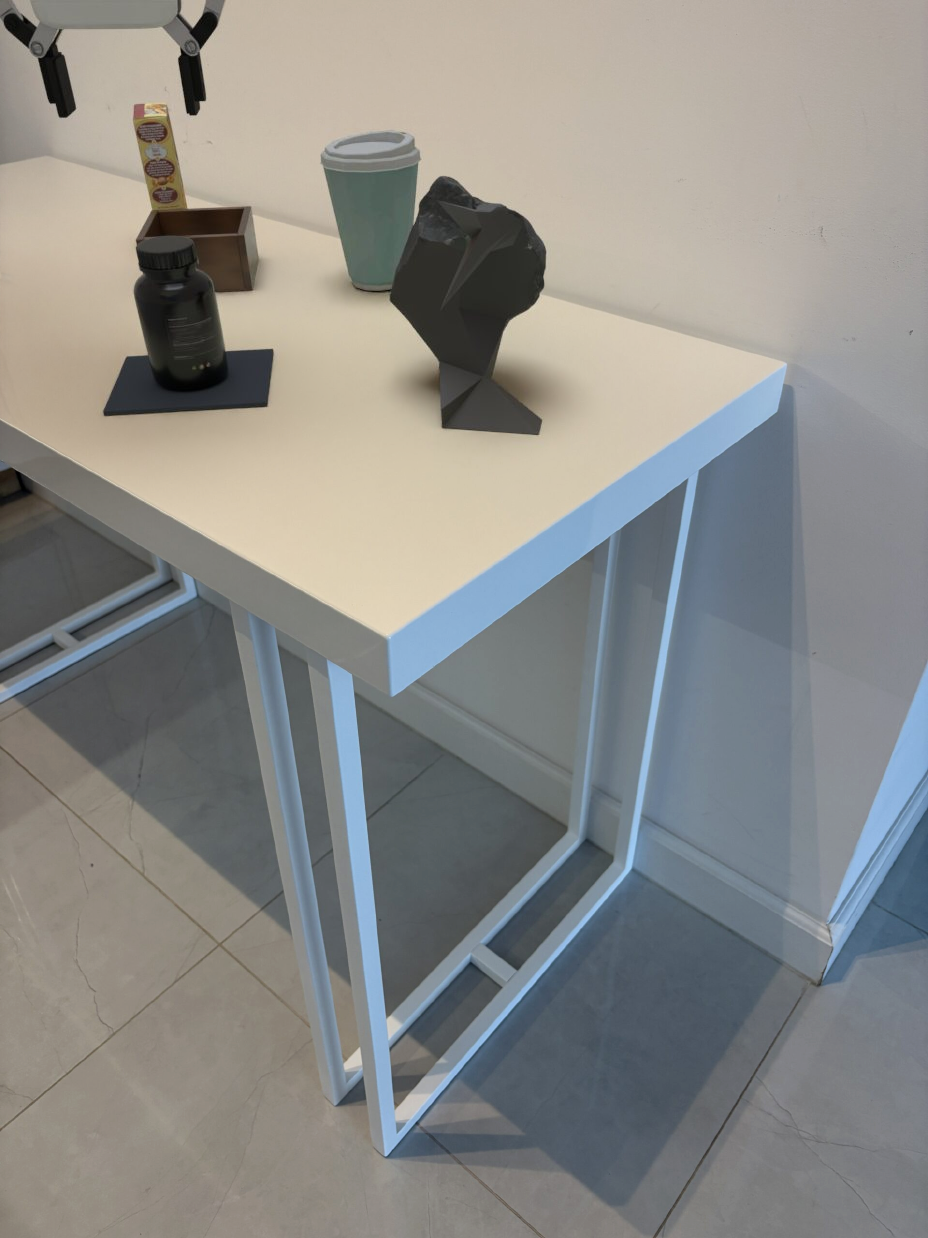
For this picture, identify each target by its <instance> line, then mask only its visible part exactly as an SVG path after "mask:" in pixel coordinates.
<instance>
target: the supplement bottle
mask: <svg viewBox="0 0 928 1238" xmlns="http://www.w3.org/2000/svg"><path fill="white" fill-rule="evenodd" d="M135 253H136V256H137V261H138V262H137V265H138V270H139V271H140V272H141V273H142V274H141V275H140V276H139V277H138V278H137V280H136V281H135V282H134V285H133V291H132V292H133V297H134V302H135V306H136V311H137V315H138V319H139V323H140V328H141V332H142V337H143V340H144V345H145V349H146V353H147V355H148V358H149V362H150V366H151V370H152V374H153V377H154V380H155V381H156V382H157V384H159V385H160V386H161V387H163V388H165V389H168V390H172V391H183V392H185V391H197V390H202V389H206V388H209V387H212V386H214V385H216V384H218V383H219V382H221V381H222V380H223V379H224V378H225V377H226V375H227V373H228V362H227V356H226V351H227V350H226V345H225V344H226V343H225V339H224V334H223V327H222V323H221V317H220V312H219V311H220V310H219V306H218V300H217V295H216V292H215V289H214V284H213V282H212V280H211V278H210V277H209V276H208V275H207V274H206V273H205V272H204V271H202V270H200V269H198V268H196V267H197V266H198V264H199V261H198V256H197V255H196V250H195V245H194V242H193V240H191V239H190V238H188V237H184V236H159V237H153V238H149V239H147V240H144V241H142V242H140V243H138V245H137V244H136V246H135ZM143 273H144V274H143Z"/></svg>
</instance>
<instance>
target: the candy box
mask: <svg viewBox="0 0 928 1238" xmlns="http://www.w3.org/2000/svg"><path fill="white" fill-rule="evenodd" d="M132 113H133V116H132V122H133V127H134V132H135V136H136V142H137V146H138V150H139V155H140V161H141V165H142V169H143V175H144V178H145V179H144V180H145V183H146V188H147V192H148V197H149V201H150V205H151V211H152V210H168V209H188V203H187V199H186V193H185V188H184V181H183V177H182V172H181V166H180V162H179V161H180V160H179V155H178V151H177V146H176V143H175V142H176V141H175V136H174V132H173V126H172V121H171V118H170V113H169V107H168V102H148V103H135V104H133V112H132Z"/></svg>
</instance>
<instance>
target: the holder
mask: <svg viewBox="0 0 928 1238" xmlns="http://www.w3.org/2000/svg"><path fill="white" fill-rule="evenodd" d="M255 229H256V228H255V222H254V215H253V208H252V206H251V205H247V206H246V205H245V206H222V207H221V206H219V207H197V208H196V207H195V208H187V209H168V210H152V209H151V211H150V212H149V214H148V216H147V218H146V219H145V222H144V224H143V225H142V227H141V229H140V231H139V232H138V235H137V237H136V238H135V244H136V245H138V243H140V242H142V241H144V240H147V239H149V238H153V237H159V236H184V237H188V238H190V239H191V240H193V242H194V245H195V250H196V255H197V256H198V261H199V264H198V266H197V267H196V268H198V269H200V270H202V271H204V272H205V273H206V274H207V275H208V276H209V277H210V278H211V280H212V282H213V284H214V289H215V293H217V292H237V291H240V292H241V291H252V290H254V285H255V279H256V278H255V277H256V273H257V269H258V268H257V267H258V263H259V258H260V257H259V251H258V243H257V237H256V236H257V235H256V230H255ZM143 274H144V273H143V272H142V275H143Z"/></svg>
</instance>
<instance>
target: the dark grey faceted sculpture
mask: <svg viewBox="0 0 928 1238" xmlns="http://www.w3.org/2000/svg"><path fill="white" fill-rule="evenodd" d="M546 268H547V248H546V245H545V243H544V241H543V240H542V238H541V237H540V236H539V235H538V234H537V232H536V230H535V228H534V227H533V225H532V223H531V222H530V220H528V218H527V217H525V216H524V215H522V214H521V213H519V212H518V211H516V210H514V209H510V208H509V207H507V205H505V204H502V203H497V202H496V203H494V202H487V201H485V200H484V201H483V200H482V199H480V198H479V197H476V196H473V195H472V194H471V193H470V192H469V191H468V190H467V189H466V188H465V187H464V186H463V185H462V184H461V183H460V182H459V181H458V180H456V179H455V178H453V177H451V176H447V175H440V176H438V177H437V178H436V179H435V180H434V181H433V183H432V184H431V185H430V187H429V189H428V191H427V192H426V193H425V195H424V196H423V197H422V198H421V199H420V201H419V203H418V212H417V216H416V217H415V220H414V223H413V227H412V229H411V231H410V234H409V237H408V240H407V242H406V245H405V248H404V251H403V253H402V256H401V258H400V262H399V264H398V266H397V268H396V271H395V276H394V280H393V284H392V288H391V289H390V294H389V302H390V303H391V304H392V305H393V307H395V309H397V310H398V311H399V313H400V314H401V315H402V316H403V317H404V318H405V320H406V321H408V323H409V324H410V326H411V327H412V328H413V329H414V331H415V332H416V333H417V334H418V336H419V337H420V338H421V340H422V341H423V342H424V343H425V345H426V346H427V347H428V349H429V350H430V351H431V353H432V354H433V355H434V357H435V358H436V360H437V361H438V379H439V398H440V399H439V400H440V401H439V402H440V416H441V417H440V418H441V419H440V420H441V428H442V429H443V428H444V429H457V430H470V431H471V430H473V431H485V432H500V433H511V434H513V433H514V434H528V435H540V431H541V427H542V424H543V423H542V422H543V419H542V418H541V417H540V416H538V414H536V413H535V412H534V411H532V410H531V409H530V408H528V406H526V405H525V404H524V403H523V402H521V401H520V400H519V399H518V398H516V397H515V396H514V395H513V394H511V393H510V392H509V391H508V390H507V389H505V388H504V387H503V386H502V385H500V384H499V383H498V382H496V381H495V380H494V379H493V375H494V370H495V367H496V363H497V359H498V354H499V351H500V347H501V343H502V338H503V334H504V332H505V330H506V329H507V326H508V324H509V323H510V321H511V320H513V319H515V318H516V317H518V316H519V315H522V314H524V313H525V312H528V311H529V310H530V309H531V308H532V307H533V306H534V305H535V304H536V303H537V302H538V300H539V299H540V296H541V293H542V291H543V290H544V289H545V279H544V276H545V272H546Z"/></svg>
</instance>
